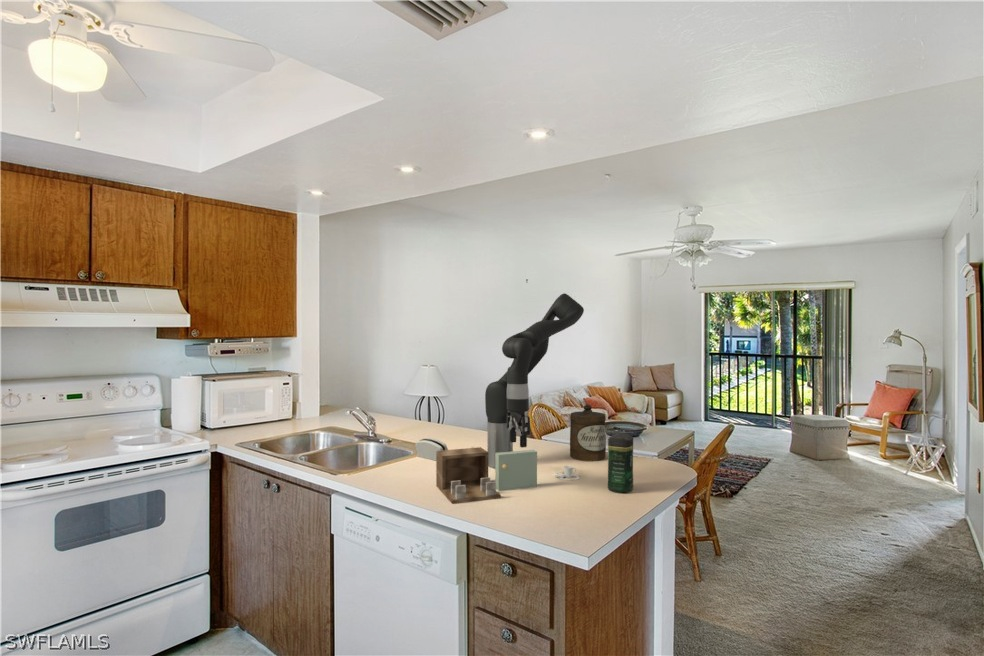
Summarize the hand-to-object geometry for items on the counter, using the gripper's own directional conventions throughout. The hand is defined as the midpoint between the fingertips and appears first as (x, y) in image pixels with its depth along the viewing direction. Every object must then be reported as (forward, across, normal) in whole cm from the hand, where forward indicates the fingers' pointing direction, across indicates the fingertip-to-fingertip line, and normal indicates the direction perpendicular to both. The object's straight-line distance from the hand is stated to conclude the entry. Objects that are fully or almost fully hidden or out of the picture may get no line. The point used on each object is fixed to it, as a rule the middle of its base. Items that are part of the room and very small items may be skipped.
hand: (518, 444), depth 177 cm
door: (+14, 0, +1) cm, 15 cm away
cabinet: (+14, +2, +18) cm, 23 cm away
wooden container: (+15, +28, -45) cm, 55 cm away
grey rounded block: (+15, +48, +17) cm, 53 cm away
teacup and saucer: (+15, +8, -21) cm, 27 cm away
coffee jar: (+15, -14, -31) cm, 37 cm away
